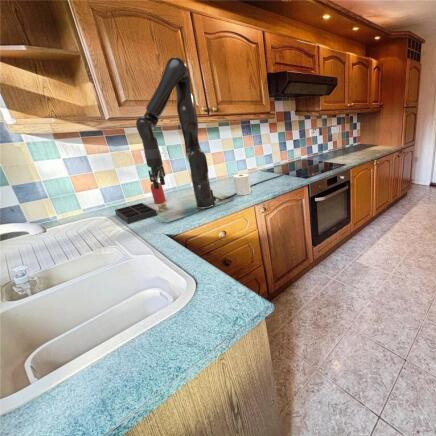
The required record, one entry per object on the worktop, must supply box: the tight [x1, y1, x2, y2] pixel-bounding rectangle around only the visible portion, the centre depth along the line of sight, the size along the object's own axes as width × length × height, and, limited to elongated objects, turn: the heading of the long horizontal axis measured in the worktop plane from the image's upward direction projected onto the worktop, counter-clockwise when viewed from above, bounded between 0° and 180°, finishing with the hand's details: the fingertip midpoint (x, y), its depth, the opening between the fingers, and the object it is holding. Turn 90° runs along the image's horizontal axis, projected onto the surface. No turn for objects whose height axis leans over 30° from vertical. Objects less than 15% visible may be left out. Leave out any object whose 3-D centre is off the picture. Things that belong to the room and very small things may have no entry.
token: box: [157, 202, 168, 212], centre depth 150 cm, size 4×4×4 cm
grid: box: [114, 202, 158, 225], centre depth 144 cm, size 14×21×3 cm
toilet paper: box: [233, 173, 252, 196], centre depth 171 cm, size 10×10×12 cm
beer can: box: [150, 182, 166, 204], centre depth 162 cm, size 7×7×12 cm
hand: (160, 186), depth 143 cm, fingers open, 8 cm apart
